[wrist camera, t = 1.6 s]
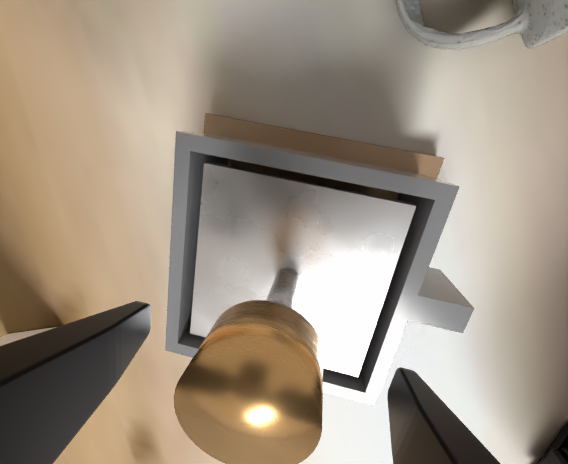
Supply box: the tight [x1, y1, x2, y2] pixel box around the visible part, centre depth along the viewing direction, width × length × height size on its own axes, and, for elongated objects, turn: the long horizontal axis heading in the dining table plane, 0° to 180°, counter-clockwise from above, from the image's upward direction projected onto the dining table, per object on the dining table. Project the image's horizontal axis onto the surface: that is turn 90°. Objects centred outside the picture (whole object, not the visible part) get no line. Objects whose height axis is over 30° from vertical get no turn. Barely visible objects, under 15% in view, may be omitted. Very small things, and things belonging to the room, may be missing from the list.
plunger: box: [174, 162, 416, 464], centre depth 9 cm, size 8×8×7 cm
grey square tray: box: [165, 113, 474, 406], centre depth 14 cm, size 14×12×6 cm
